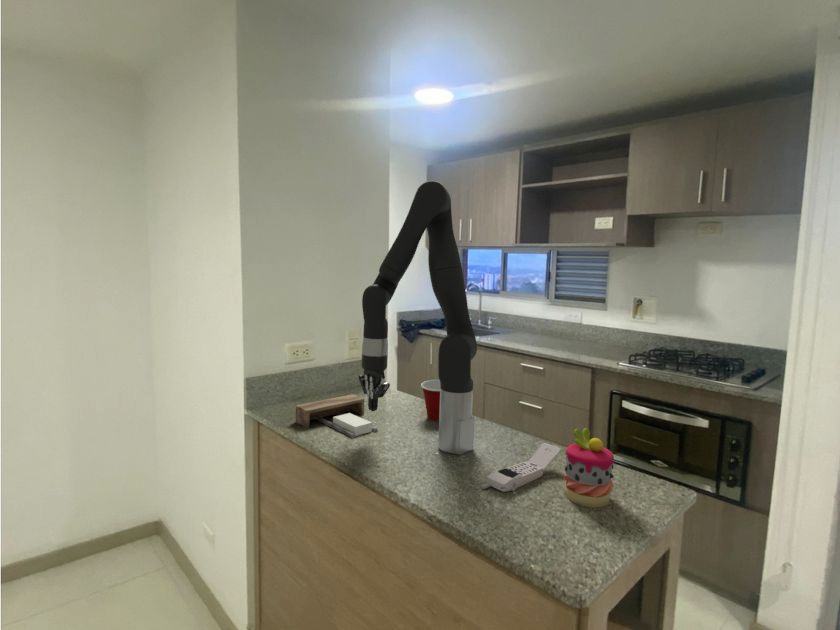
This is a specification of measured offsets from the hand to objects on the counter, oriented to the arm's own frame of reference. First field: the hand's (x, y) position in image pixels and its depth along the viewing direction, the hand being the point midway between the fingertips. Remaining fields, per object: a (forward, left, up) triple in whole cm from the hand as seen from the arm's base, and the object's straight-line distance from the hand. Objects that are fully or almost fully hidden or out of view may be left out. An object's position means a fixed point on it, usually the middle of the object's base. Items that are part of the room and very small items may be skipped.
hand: (372, 409), depth 139 cm
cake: (-59, -17, -9) cm, 63 cm away
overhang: (+15, 0, -9) cm, 17 cm away
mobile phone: (-44, -13, -9) cm, 47 cm away
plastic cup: (+2, -28, -9) cm, 29 cm away
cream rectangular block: (+11, 0, -9) cm, 14 cm away
